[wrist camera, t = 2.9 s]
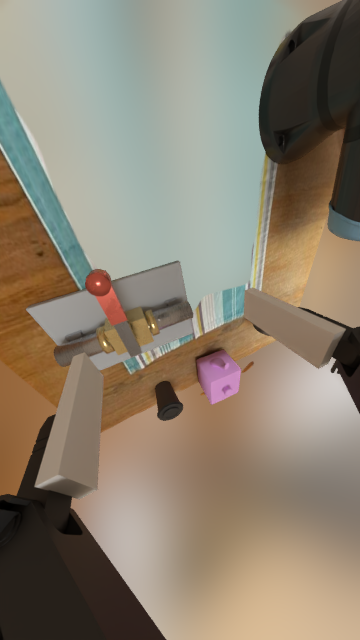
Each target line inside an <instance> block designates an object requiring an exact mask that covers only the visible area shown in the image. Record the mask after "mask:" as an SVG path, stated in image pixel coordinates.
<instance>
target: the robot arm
mask: <svg viewBox="0 0 360 640" xmlns="http://www.w3.org/2000/svg"><path fill="white" fill-rule="evenodd" d="M344 127H346V129H345V134H344V139H343V144H342V148H341V153H340V159H339V164H338V169H337V174H336V179H335V184H334V189H333V194H332V198H331V201H330V202H329V217H328V229H329V230H330V231H331V232H332V233H333V234H335V235H336V236H338V237H341V238H344V239H348V240H355V241H360V0H342V1H340V2H338V3H336V4H334V5H332V6H330V7H328V8H326V9H324V10H322V11H320V12H318V13H316V14H314V15H311V16H310V17H308V18H306V19H305V20H304V21H302V22H301V23H300V24H299V25H298V26H297V27H296V28H295V29H294V30H293V31H292V32H291V33H290V34H289V36H288V37H287V38H286V39H285V40H284V41H283V42H282V43H281V45H280V46H279V48H278V49H277V51H276V53H275V55H274V56H273V58H272V60H271V62H270V65H269V67H268V70H267V73H266V76H265V79H264V83H263V87H262V91H261V98H260V105H259V129H260V136H261V141H262V144H263V147H264V149H265V151H266V153H267V155H268V156H269V157H270V158H271V159H272V160H273V161H275V162H277V163H281V164H283V163H288V162H291V161H294V160H297V159H299V158H301V157H303V156H304V155H306V154H307V153H308V152H310V151H311V150H312V149H314V148H315V147H316V146H317V145H319V144H320V143H321V142H323V141H324V140H325V139H326V138H328V137H329V136H330V135H332V134H333V133H334V132H335V131H338V130H340V129H342V128H344ZM244 318H246V319H247V320H249V321H250V322H252V323H253V324H255V325H256V326H257V327H259V328H260V329H262V330H263V331H265V332H266V333H267V334H269V335H270V336H272V337H273V338H275V339H276V340H278V341H279V342H280V343H282V344H284V345H285V346H286V347H288V348H289V349H291V350H292V351H293V352H295V353H296V354H298V355H299V356H301V357H302V358H304V359H305V360H306V361H308V362H309V363H311V364H312V365H314V366H315V367H316V368H318V369H319V368H321V367H323V366H325V365H327V364H328V362H329V361H330V359H331V357H333V358H335V359H336V361H335V363H334V365H333V367H332V368H331V372H332V373H334V371H335V369H336V368H338V371H337V373H338V374H340V375H341V377H342V379H343V381H344V383H345V385H346V386H347V388H348V391H349V393H350V395H351V397H352V399H353V401H354V403H355V405H356V407H357V409H358V411H359V413H360V327H356V328H351V327H349V326H346V325H344V324H342V323H339V322H337V321H335V320H332V319H330V318H328V317H323V315H320V314H317V313H316V312H313V311H311V310H309V309H305V308H300V307H295V306H293V305H291V304H288V303H286V302H284V301H282V300H279V299H277V298H275V297H273V296H270V295H268V294H266V293H263V292H261V291H259V290H257V289H254V288H250V289H248V290H245V303H244ZM103 377H104V376H103V375H102V373H101V372H100V371H99V370H98V368H97V367H96V366H95V365H94V363H93V362H92V361H91V360H90V358H89V357H88V356H87V355H86V353H85V352H84V353H81V354H78V355H76V356H73V358H72V362H71V365H70V368H69V372H68V375H67V379H66V382H65V385H64V389H63V392H62V395H61V399H60V402H59V405H58V409H57V412H56V414H55V415H52V416H50V417H48V418H47V420H46V421H45V423H44V424H43V426H42V427H41V429H40V431H39V434H38V437H37V440H36V444H35V445H34V448H33V451H32V455H31V457H30V459H29V462H28V465H27V468H26V471H25V474H24V477H23V479H22V482H21V485H20V488H19V491H18V493H17V496H14V495H10V494H6V495H1V496H0V640H166V639H165V637H164V636H163V635H162V633H161V632H160V630H159V629H158V627H157V626H156V625H155V623H154V622H153V620H152V619H151V618H150V616H149V615H148V613H147V612H146V611H145V609H144V608H143V606H142V605H141V604H140V602H139V601H138V599H137V598H136V597H135V595H134V594H133V592H132V591H131V590H130V588H129V587H128V585H127V584H126V582H125V581H124V580H123V578H122V577H121V576H120V574H119V573H118V571H117V570H116V568H115V567H114V566H113V564H112V563H111V561H110V560H109V559H108V557H107V556H106V554H105V553H104V552H103V550H102V549H101V548H100V546H99V545H98V543H97V542H96V540H95V539H94V537H93V536H92V535H91V533H90V532H89V531H88V529H87V528H86V526H85V525H84V524H83V522H82V521H81V519H80V518H79V517H78V515H77V514H76V512H75V511H74V510H73V509H71V508H70V507H71V500H72V497H73V498H76V499H81V498H83V497H85V496H87V495H89V494H90V493H92V492H94V491H96V490H97V485H98V466H99V448H100V431H101V413H102V395H103Z"/></svg>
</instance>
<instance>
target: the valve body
mask: <svg viewBox="0 0 360 640" xmlns="http://www.w3.org/2000/svg"><path fill="white" fill-rule="evenodd" d="M165 304H166V307H165V308H162V309H159V310H157V311H154V312H152V310H151V309H150V310H147V311H144V313H145V315H144V313H143V310H142V308H141V306H140V307H137V308H134V309H131V310H128V311H126V312H125V313H126V315H127V320H128V322H129V324H130V326H131V328H132V330H133V332H134V334H135V335H136V338H137V341H138V343H139V345H140V347H141V346H143V345H146V344H149V343H151V342H154V339H153V337H152V334H153V336H155V335H158V334H160V331H159V330H162V329H165V328H167V327H170V326H172V325H175V324H178V323H180V322H183V321H185V320H188V319H191V318H193V312H192V309H191V306H190V304H189V303H188V301H187V300H185V301H182V302H178V298H177V297H174V298H171V299H169V300H166V301H165ZM65 339H66V340H67V341H68V342H67V343H65V344H62V345H59V346H56V347H55V349H54V356H55V359H56V361H57V363H58V364H59V365H60V366H62V367H66V366H68V365H71V362H72V358H73V356H76V355H78V354H81V353H84V352H85V353H86V355H87V356H88V357H92V356H94V355H97V354H100V353H102V352H105V353H106V354H109V353H111V352H114V351H116V353H117V354H118V355H121V354H123V353H126V352H128V351H127V349H126V347H125V346H124V344H123V342H122V340H121V338H120V336H119V335H118V333H117V331H116V329H115V327H114V326H112V325H111V323H110V322H109V320H108V318H105V326H102V327H99V328H97V329H96V332H95V333H92V334H90V335H87V336H84V334H83V333H82V331H81V330H80V331H77V332H74V333H71V334H68V335H66V336H65Z"/></svg>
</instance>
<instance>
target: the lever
mask: <svg viewBox="0 0 360 640" xmlns="http://www.w3.org/2000/svg"><path fill="white" fill-rule="evenodd" d="M85 286H86V289H87V291H88V292H89V293H90V294H92V295H94V296H95V297H96V298H97V300H98V302H99V304H100V306H101V307H102V309H103V311H104V313H105V315H106V316H107V318H108V320H109V322H110V323H111V325H112V326H114V327H115V329H116V331H117V333H118V335H119V336H120V338H121V340H122V342H123V344H124V346H125V347H126V349H127V351H128V353H129V355H130V356H131V357H133V356H136V355H138V354H141V353H142V350H141V347H140V345H139V343H138V341H137V338H136V335H135V334H134V332H133V330H132V328H131V326H130V324H129V322H128V320H127V315H126V313H125V311H124V308H123V306H122V304H121V302H120V300H119V298H118V296H117V294H116V291H115V289H114V287H113V285H112V283H111V278H110V276H109V274H108V273H107V272H106V271H104V270H101V269H95V270H93V271H91V272H90V273H89V275H88V276H87V277H86V282H85Z"/></svg>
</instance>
